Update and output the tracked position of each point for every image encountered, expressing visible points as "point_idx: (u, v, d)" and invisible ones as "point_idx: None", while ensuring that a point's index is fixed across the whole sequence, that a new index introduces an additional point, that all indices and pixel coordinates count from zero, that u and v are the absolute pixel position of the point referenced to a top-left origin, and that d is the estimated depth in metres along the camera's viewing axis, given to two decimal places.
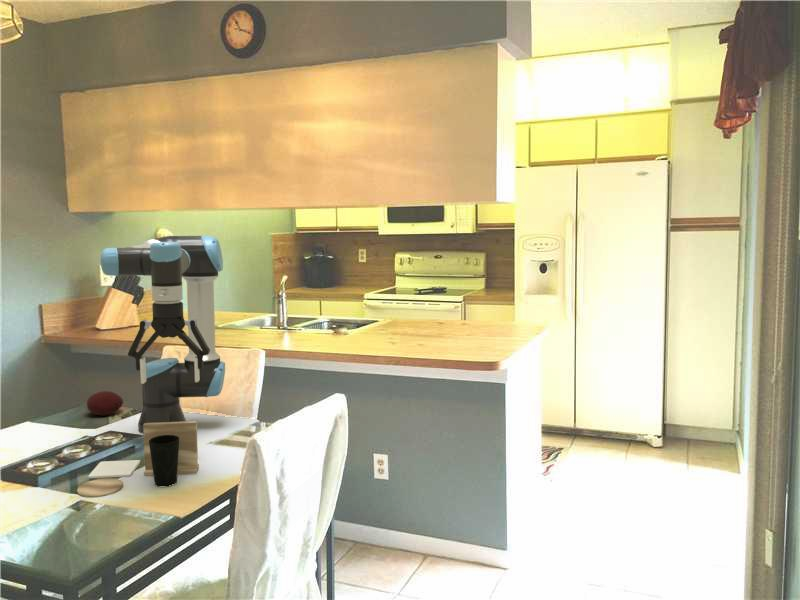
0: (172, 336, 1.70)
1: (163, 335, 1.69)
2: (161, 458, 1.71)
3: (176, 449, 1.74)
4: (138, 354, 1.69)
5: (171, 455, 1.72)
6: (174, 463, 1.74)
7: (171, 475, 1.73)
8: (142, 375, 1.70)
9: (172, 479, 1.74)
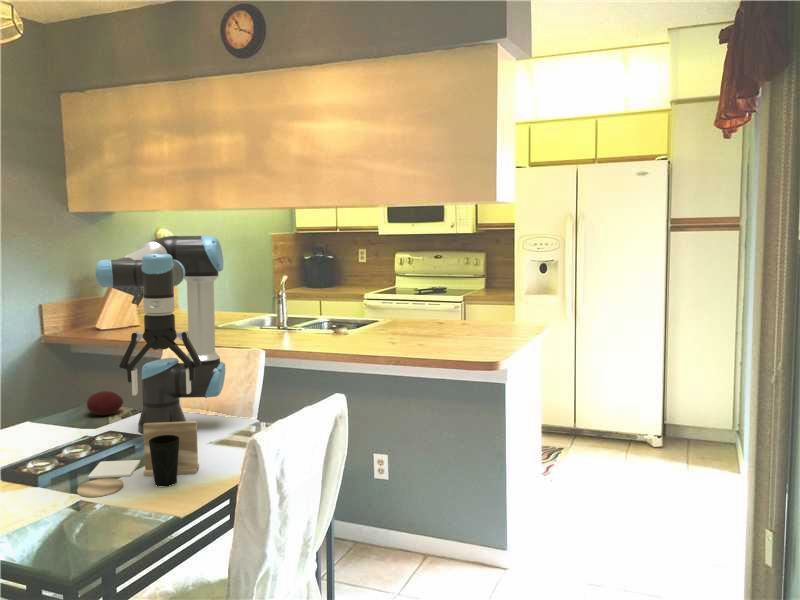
0: (164, 348, 1.70)
1: (155, 347, 1.70)
2: (161, 458, 1.71)
3: (176, 449, 1.74)
4: (130, 366, 1.69)
5: (171, 455, 1.72)
6: (174, 463, 1.74)
7: (171, 475, 1.73)
8: (133, 387, 1.70)
9: (172, 479, 1.74)
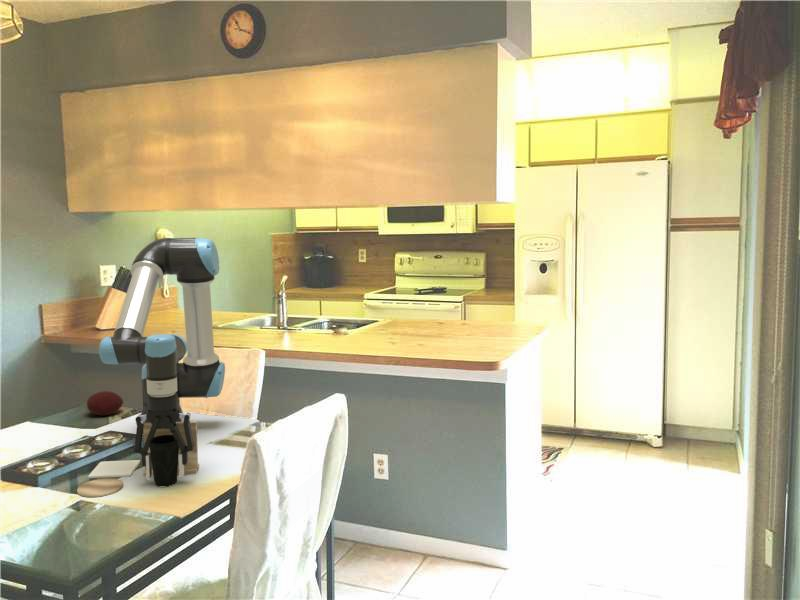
0: (167, 427, 1.73)
1: (158, 426, 1.73)
2: (161, 458, 1.71)
3: (176, 449, 1.74)
4: (143, 451, 1.73)
5: (171, 455, 1.72)
6: (174, 463, 1.74)
7: (171, 475, 1.73)
8: (148, 471, 1.73)
9: (172, 479, 1.74)
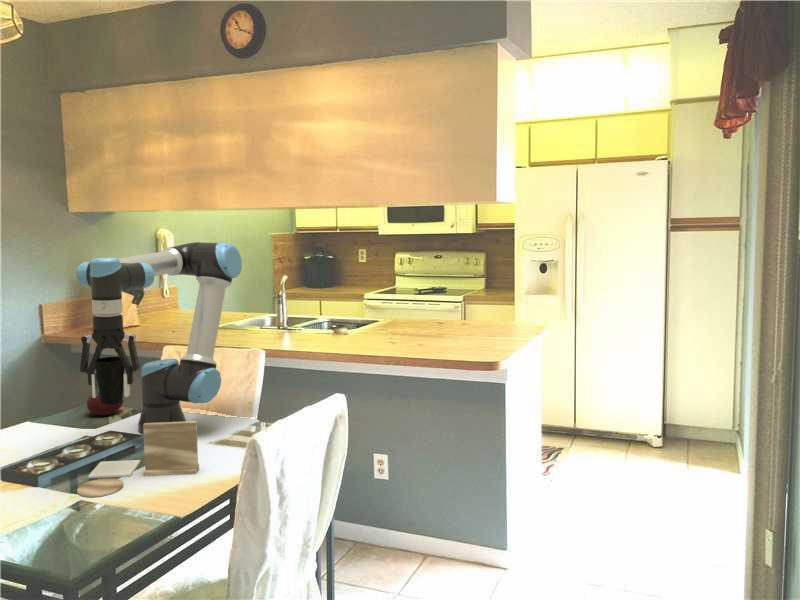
0: (112, 347, 1.79)
1: (103, 346, 1.79)
2: (106, 376, 1.77)
3: (121, 368, 1.80)
4: (89, 370, 1.79)
5: (116, 374, 1.78)
6: (119, 382, 1.80)
7: (116, 393, 1.80)
8: (94, 390, 1.79)
9: (117, 398, 1.80)
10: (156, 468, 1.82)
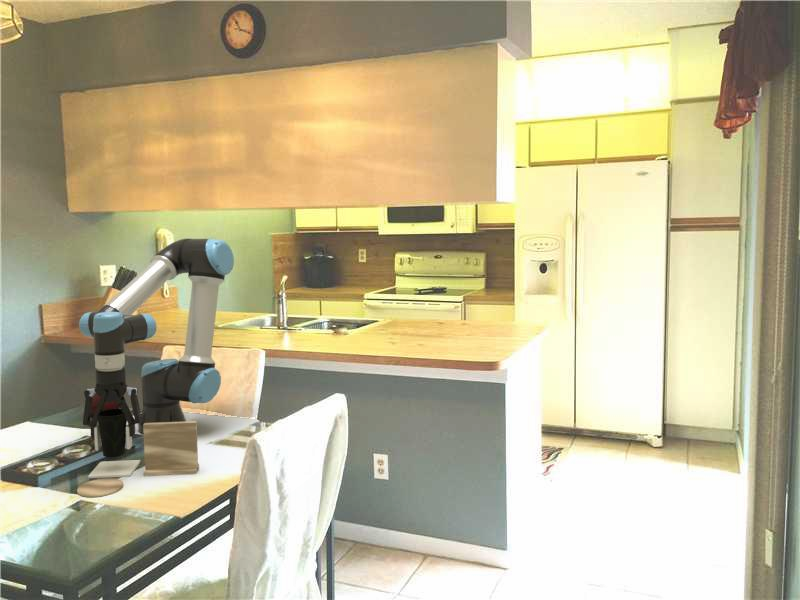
0: (114, 400, 1.81)
1: (106, 400, 1.81)
2: (108, 430, 1.79)
3: (123, 421, 1.81)
4: (92, 423, 1.81)
5: (118, 427, 1.80)
6: (121, 435, 1.81)
7: (119, 446, 1.81)
8: (96, 442, 1.81)
9: (119, 450, 1.82)
10: (156, 468, 1.82)
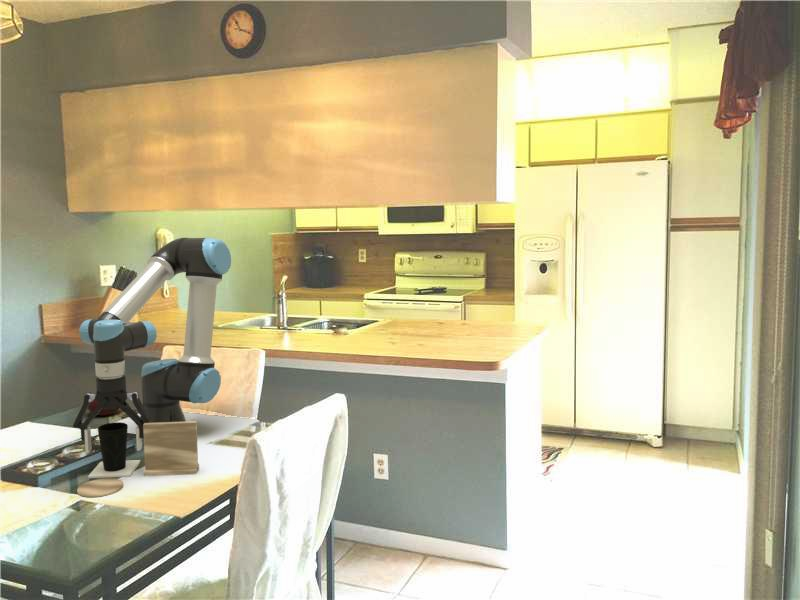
0: (115, 408, 1.81)
1: (106, 407, 1.81)
2: (109, 444, 1.80)
3: (124, 436, 1.82)
4: (83, 425, 1.80)
5: (119, 441, 1.81)
6: (122, 449, 1.82)
7: (119, 460, 1.82)
8: (87, 445, 1.81)
9: (120, 464, 1.82)
10: (156, 468, 1.82)
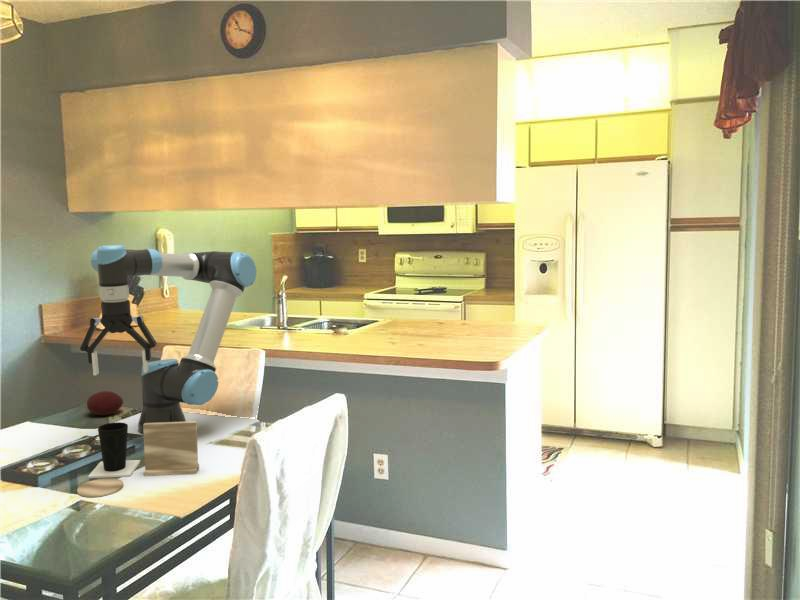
0: (120, 331, 1.86)
1: (112, 331, 1.86)
2: (109, 444, 1.80)
3: (124, 436, 1.82)
4: (90, 349, 1.85)
5: (119, 441, 1.81)
6: (122, 449, 1.82)
7: (119, 460, 1.82)
8: (94, 367, 1.86)
9: (120, 464, 1.82)
10: (156, 468, 1.82)
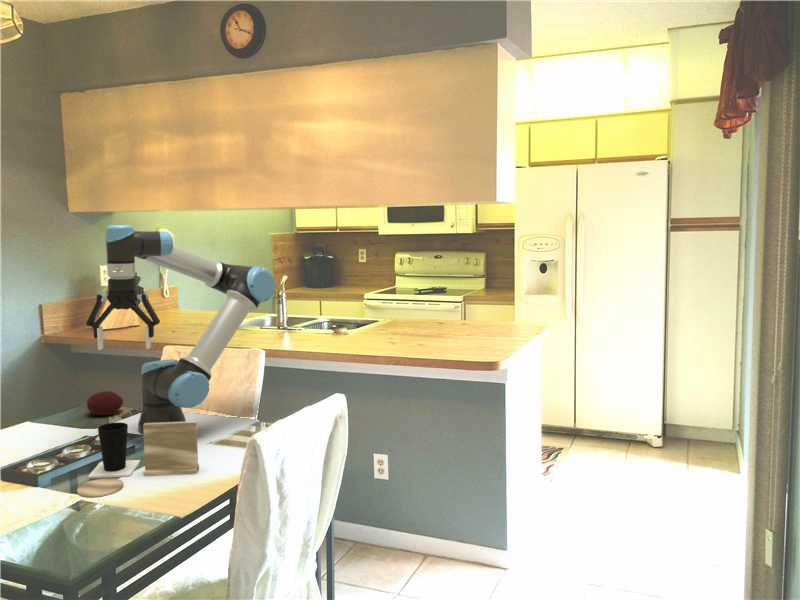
0: (125, 308, 1.93)
1: (117, 307, 1.92)
2: (109, 444, 1.80)
3: (124, 436, 1.82)
4: (95, 324, 1.92)
5: (119, 441, 1.81)
6: (122, 449, 1.82)
7: (119, 460, 1.82)
8: (99, 342, 1.93)
9: (120, 464, 1.82)
10: (156, 468, 1.82)
